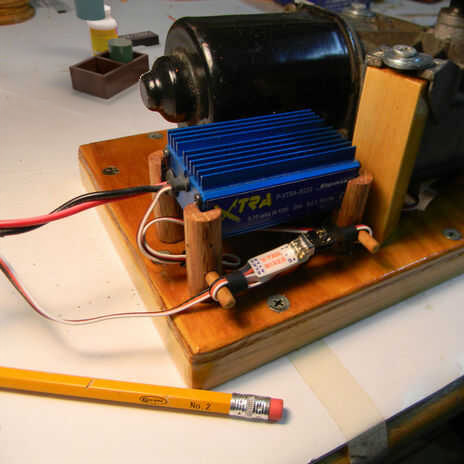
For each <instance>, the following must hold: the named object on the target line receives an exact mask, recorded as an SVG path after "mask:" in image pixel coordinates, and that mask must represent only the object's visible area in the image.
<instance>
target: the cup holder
mask: <svg viewBox="0 0 464 464" xmlns="http://www.w3.org/2000/svg"><path fill="white" fill-rule="evenodd" d="M149 56H150V55H149V54H148V53H144V52H141V51H137V50H134V49H133V58H134V60H132V61H130V62H128V63H126V64H125V63H121V62H118V61H114V60H110V58H109V50H106V51H104V52H101V53H99V54H97V55H95V56H92V55H91V56H90V57H88V58H86V59H84V60H81V61H80V62H77V63H75V64H73V65H70V66H68V70H69V76H70V79H71V85H72V90H73V91H77V92H81V93H84V94H86V95H90V96H93V97H97V98H101V99H104V100H110V99H111V98H113V97H115V96H117V95H118V94H120V93H122V92H124V91H125V90H128V88H131V87H132V86H134V85H136V84H137V83H139V82H140V81H139V79H140V76H141V75H142V74H144V73H146V72H148V71H151V70H150V59H149ZM138 81H139V82H138Z"/></svg>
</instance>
